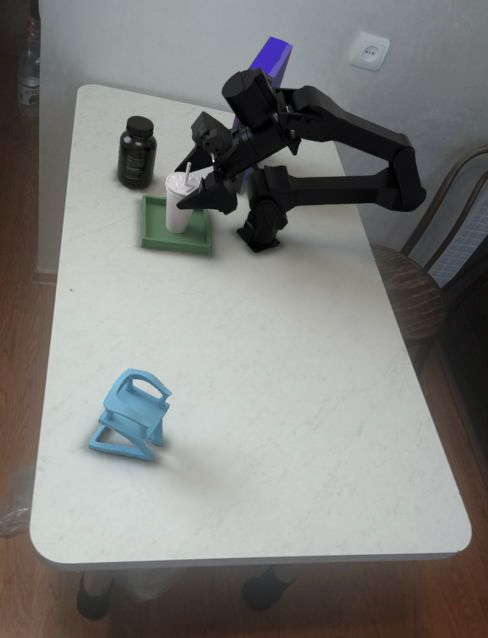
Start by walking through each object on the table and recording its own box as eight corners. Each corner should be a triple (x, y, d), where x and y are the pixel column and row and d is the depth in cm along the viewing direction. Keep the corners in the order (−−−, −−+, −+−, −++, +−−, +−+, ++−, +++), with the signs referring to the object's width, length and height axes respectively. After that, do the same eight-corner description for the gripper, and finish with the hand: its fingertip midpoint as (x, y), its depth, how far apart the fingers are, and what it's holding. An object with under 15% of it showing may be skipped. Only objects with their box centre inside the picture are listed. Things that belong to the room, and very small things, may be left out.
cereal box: (240, 144, 122) (270, 35, 104) (259, 152, 123) (293, 44, 104) (217, 184, 111) (247, 69, 93) (238, 193, 111) (272, 80, 93)
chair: (143, 476, 70) (155, 432, 61) (87, 446, 70) (90, 398, 61) (171, 430, 75) (185, 383, 66) (118, 403, 75) (125, 352, 66)
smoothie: (160, 237, 97) (171, 171, 86) (156, 213, 100) (167, 147, 90) (195, 239, 99) (210, 175, 88) (190, 216, 102) (205, 152, 92)
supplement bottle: (159, 181, 107) (167, 126, 98) (136, 194, 103) (143, 138, 94) (132, 163, 108) (138, 107, 99) (109, 176, 104) (113, 119, 95)
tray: (204, 211, 105) (206, 203, 103) (209, 255, 98) (211, 247, 96) (141, 202, 102) (142, 194, 100) (141, 247, 95) (142, 238, 93)
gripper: (223, 73, 87) (146, 123, 93) (234, 140, 76) (147, 192, 82) (256, 126, 95) (184, 169, 101) (271, 193, 84) (189, 237, 90)
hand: (176, 189), depth 93 cm, fingers open, 9 cm apart
